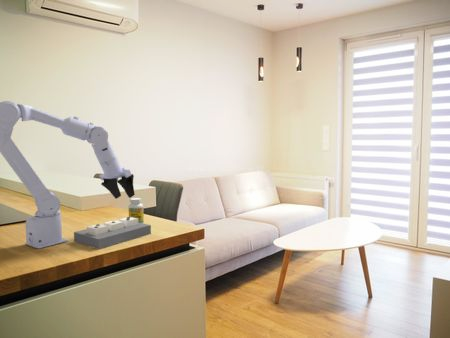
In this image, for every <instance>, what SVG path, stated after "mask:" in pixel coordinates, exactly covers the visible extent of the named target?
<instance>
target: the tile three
mask: <svg viewBox="0 0 450 338" xmlns="http://www.w3.org/2000/svg"><path fill="white" fill-rule="evenodd" d="M118 221H121V222H123V226H124V227H131V226H135V225H138V218H133V217H129V216H126V217H123V218H119V219H118Z"/></svg>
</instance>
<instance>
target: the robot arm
mask: <svg viewBox="0 0 450 338" xmlns="http://www.w3.org/2000/svg"><path fill="white" fill-rule="evenodd" d="M20 119H21V122H26V121H27V122H28V121H35V122H38V123H42V124H45V125H48V126H51V127H55V128H58V129H60V130H61V132H62V133H63V135H66V136H69V137H70V138H71V137H72V138H75V139H78V140H80V141H87V143H88V144H91V147H92V149H93V152H94V154H95V155H94V156H96V159H97V161H98V163H99V164H100V167H101V170H102V171H103V173H101V174H99V178H100V181H103V182H101V183H100V184H101V187H104V188H106V190H108V191H109V193H111V195H112V196H113V197H114V199H119V198H120V197H121V196H122V194H121V190H120V188H119V186H121V188H123V190H124V192H125V194H126V195H127V197H128V198H130V199H132V197H134V196H135V195H136V194H135V189H134V176H135V175H134V174H133V173H132V172H131V170H130V169H126V168H125V167H122V166H121V164H120V162H119V160H118V158H117V155H116V153H115V150H114V149H113V146H112V145H111V143H110V141H109V133H108V131H107V130H106V129H105V128H104V127H102V126H96V125H94V123H93V122H86V121H82V120H80V119H79V117H77V116H72V117H71V116H68V117H66V118H61V117H60V116H57V115H55V114H51V113H50V112H49V113H48V112H46V111H45V110H44V111H43V110H41V109H38V108H36V107H33V106H31V105H30V106H29V105H26V104H21V103H17V104H16V103H15V102H13V101H9V100H4V101H1V102H0V154H1V155H2V156H3V158H4V159H5V160H6V162H7V163H8V165H9V166H10V167H11V168H12V171H13V172H14V173H15V174H16V176H17V177H18V178H19V180H20V182H22V184H23V185H24V186H25V188H26V189H27V190H28V192H29V194H30V195H31V197H32V198H33V199H34V203H35V206H36V209H37V211H36V212H34V216H31V217H28V218H27V219H26V220H25V236H26V238H25V239H26V242H25V245H27V246H30V247H33V248H34V249H35V248H36V249H42V248H46V247H51V246H54V245H58V244H62V243H65V242H68V241H69V240H68V239H69V238H68V239H67V238H64V237H63V234H62V233H63V231H62V212H61V210H60V208H61V201H60V199H59V198H58V196H57V195H56V194H55V193H54V192H53V191H51V190H49V189H48V188H47V186H46V185H45V184H44V183H43V181H42V180H41V178H40V177H39V175H38V174H37V173H36V171H35V170H34V168H33V167H32V166H31V164H30V163H29V161H28V160H27V159H26V157H25V156H24V155H23V153H22V152H21V150H20V149H19V148H18V146H17V145H16V143H15V142H14V140H13V139H12V134H13V131H14V127H15V126H16V124H17V123H18V122H19V120H20ZM119 178H120V179H119ZM118 179H119V180H118Z"/></svg>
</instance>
